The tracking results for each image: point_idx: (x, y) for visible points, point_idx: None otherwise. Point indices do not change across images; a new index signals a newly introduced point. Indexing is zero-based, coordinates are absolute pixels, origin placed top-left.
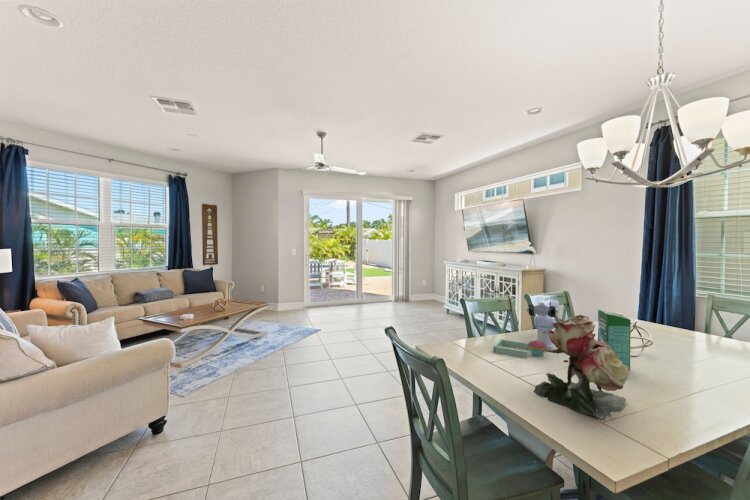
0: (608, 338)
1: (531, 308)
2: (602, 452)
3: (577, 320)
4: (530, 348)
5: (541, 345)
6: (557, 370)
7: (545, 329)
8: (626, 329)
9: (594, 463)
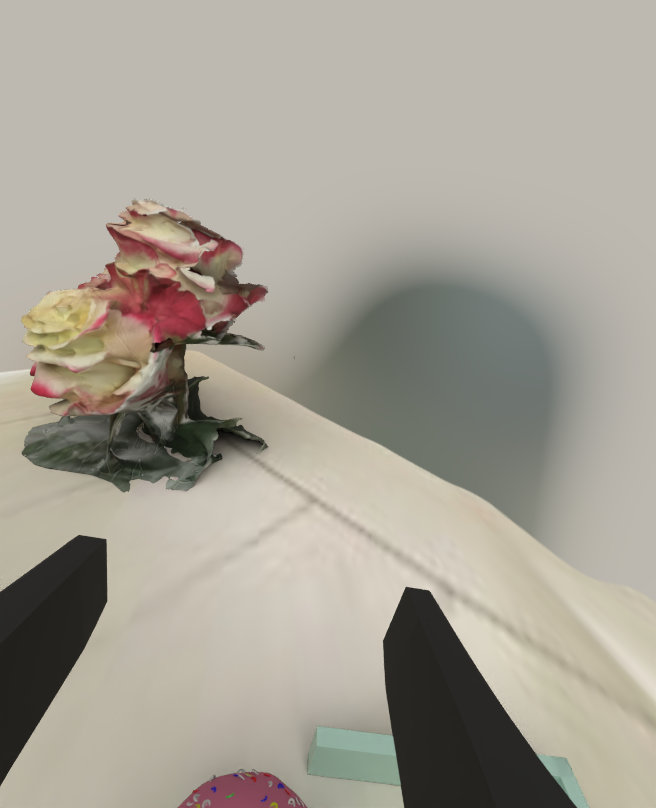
0: None
1: (486, 700)
2: (190, 364)
3: (177, 217)
4: None
5: (201, 796)
6: (150, 597)
7: None
8: None
9: (207, 357)
